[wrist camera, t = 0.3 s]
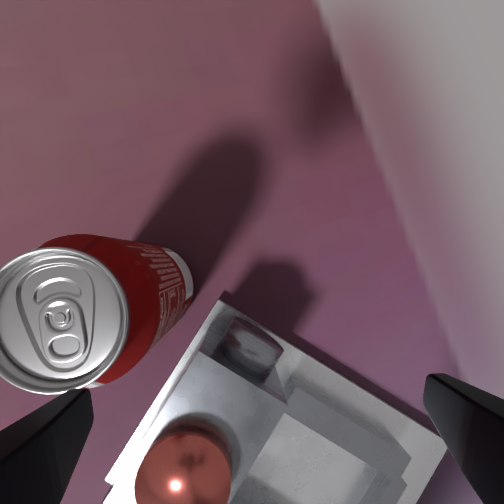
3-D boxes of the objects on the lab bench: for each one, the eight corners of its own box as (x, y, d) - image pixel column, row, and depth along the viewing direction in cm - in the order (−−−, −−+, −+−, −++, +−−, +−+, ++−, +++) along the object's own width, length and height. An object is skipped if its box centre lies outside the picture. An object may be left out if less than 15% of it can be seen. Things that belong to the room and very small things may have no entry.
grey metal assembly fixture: (343, 609, 22) (399, 797, 15) (110, 471, 22) (38, 590, 14) (442, 437, 23) (546, 528, 15) (218, 298, 22) (208, 320, 15)
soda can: (187, 238, 22) (128, 216, 10) (201, 320, 22) (158, 393, 10) (103, 252, 22) (-57, 246, 10) (117, 335, 22) (-28, 429, 10)
